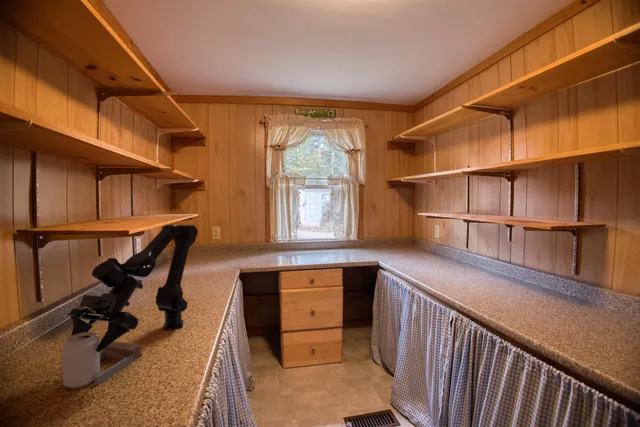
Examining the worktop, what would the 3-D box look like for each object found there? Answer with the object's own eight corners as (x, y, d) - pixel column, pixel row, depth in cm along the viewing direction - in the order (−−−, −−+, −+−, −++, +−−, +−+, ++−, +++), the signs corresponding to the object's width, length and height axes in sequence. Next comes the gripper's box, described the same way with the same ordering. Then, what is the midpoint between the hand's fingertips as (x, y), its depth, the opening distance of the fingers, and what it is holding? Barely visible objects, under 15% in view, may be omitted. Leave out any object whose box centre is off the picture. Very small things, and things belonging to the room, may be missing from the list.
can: (107, 372, 79) (105, 329, 79) (85, 390, 72) (84, 343, 71) (79, 372, 79) (77, 330, 78) (55, 390, 72) (53, 343, 71)
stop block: (112, 352, 90) (111, 341, 90) (141, 356, 87) (141, 345, 87) (103, 357, 87) (102, 345, 87) (133, 361, 85) (133, 350, 84)
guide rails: (103, 357, 87) (102, 350, 87) (133, 361, 85) (133, 354, 84) (63, 379, 76) (63, 372, 76) (97, 385, 74) (97, 377, 74)
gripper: (74, 279, 82) (29, 334, 72) (129, 283, 78) (90, 342, 68) (101, 297, 90) (64, 349, 80) (152, 302, 86) (120, 357, 76)
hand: (83, 349), depth 75 cm, fingers open, 9 cm apart
